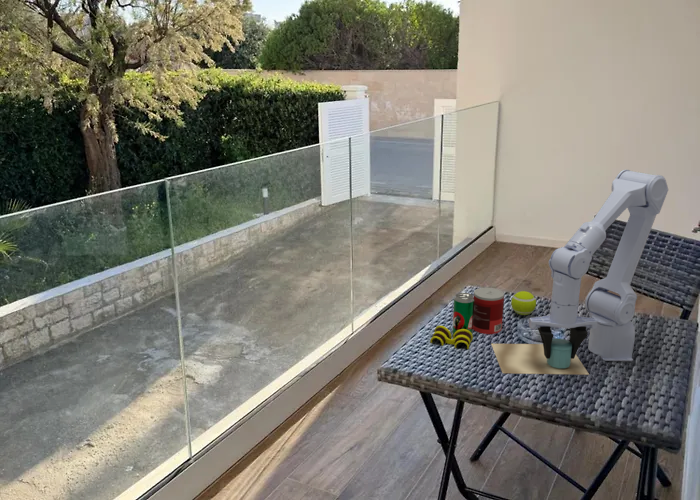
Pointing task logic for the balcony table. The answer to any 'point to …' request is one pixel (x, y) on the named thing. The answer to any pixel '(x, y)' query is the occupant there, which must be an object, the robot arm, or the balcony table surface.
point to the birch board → (531, 360)
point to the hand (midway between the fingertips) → (559, 356)
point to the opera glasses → (446, 337)
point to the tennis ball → (523, 303)
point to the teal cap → (560, 353)
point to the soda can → (463, 312)
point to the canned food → (488, 310)
